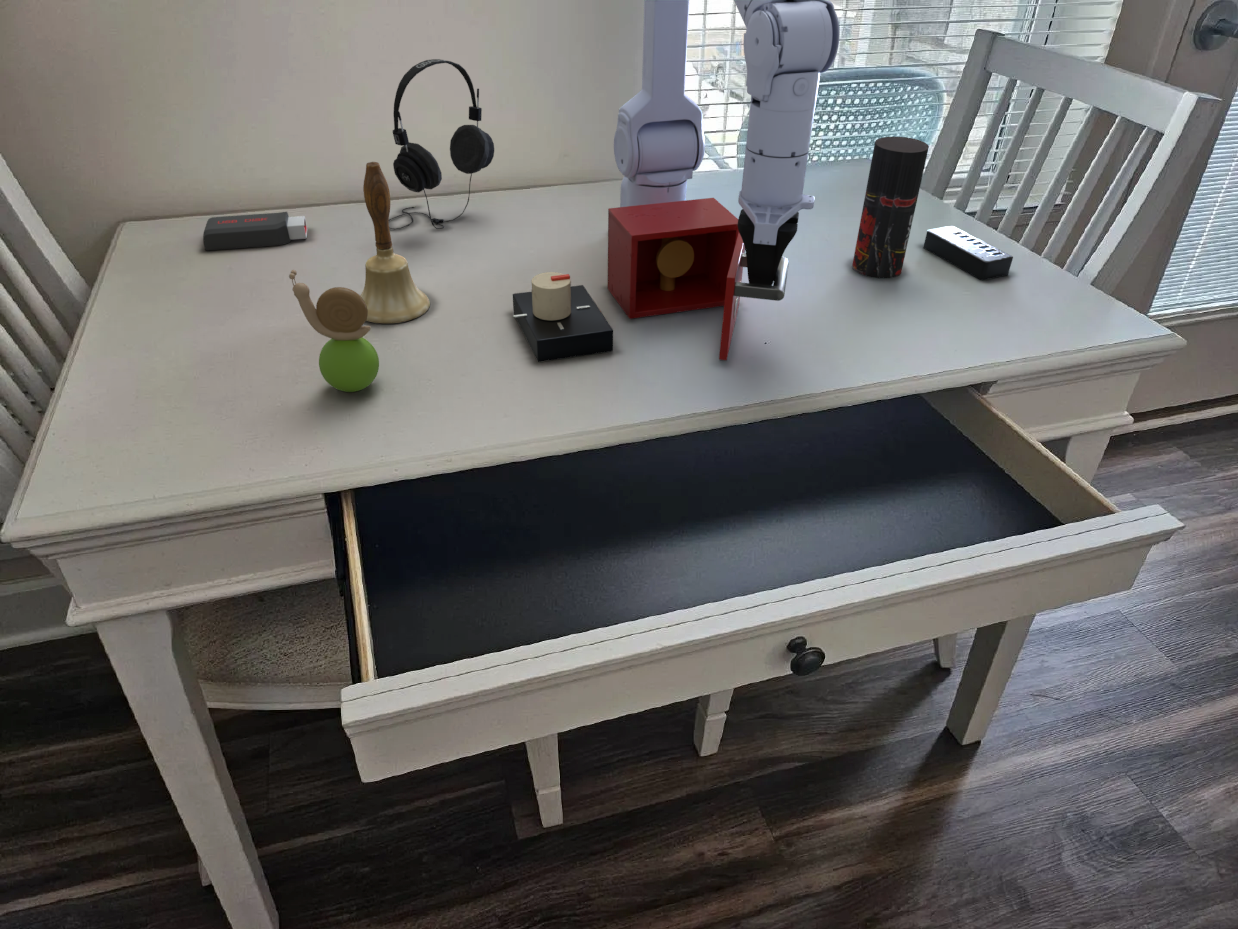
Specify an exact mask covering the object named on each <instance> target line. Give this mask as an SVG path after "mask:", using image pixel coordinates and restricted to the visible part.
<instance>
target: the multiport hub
mask: <svg viewBox="0 0 1238 929" xmlns="http://www.w3.org/2000/svg"><path fill="white" fill-rule="evenodd" d="M923 248H924V249H925V250H927V251H929V252H930V253H932V254H934V255H935V256H937V257H938V258H939V257H940V258H941V259H943V260H944V261H946V262H948V263H949V264H952V265H954V267H956V268H959V269H961V271H962V270H963V271H964V272H966V273H968V274H970V275H971V276H972V277H974V278H977V279H978V280H980V281H987V280H990V279H996V278H1000V277H1005V276H1008V275H1009V273H1010V269H1011V267H1012V262H1013V259H1014V256H1013V255H1011V254H1009V253H1007V252H1005V251H1003V250H1001V249H1000V248H998V247H995V246H994V245H993V244H990V243H988V242H986V241H984V240H982V239H980V238H978V237H976V236H974V235H972V234H970V233H968V232H967V231H965V230H963V229H960V228H958V226H957V227H956V226H954V225H947V226H941V227H937V228H931V229H927V230H926V234H925V238H924V242H923Z"/></svg>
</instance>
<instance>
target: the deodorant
mask: <svg viewBox="0 0 1238 929" xmlns="http://www.w3.org/2000/svg"><path fill="white" fill-rule="evenodd" d="M929 148H930V146H929V144H928V143H926V142H925V141H922V140H919V139H917V138H913V137H908V136H907V137H906V136H897V135H896V136H892V135H891V136H883V137H879V138H877V139H875V141H874V144H873V151H872V157H871V161H870V166H869V172H868V178H867V183H866V189H865V193H864V200H863V205H862V210H861V216H860V222H859V226H858V232H857V237H856V244H855V249H854V254H853V260H852V269H853V270H854V272H856V273H858V274H859V275H862V276H864V277H867V278H868V277H869V278H873V279H884V280H885V279H892V278H897V277H898V276H900V275H901V274H902V271H903V267H904V262H905V257H906V253H907V247H908V243H909V239H910V234H911V230H912V225H913V221H914V216H915V212H916V207H917V203H918V198H919V193H920V190H921V184H922V180H923V176H924V170H925V166H926V162H927V157H928V153H929Z"/></svg>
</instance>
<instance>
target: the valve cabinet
mask: <svg viewBox="0 0 1238 929" xmlns="http://www.w3.org/2000/svg"><path fill="white" fill-rule="evenodd" d="M607 209H608V210H607V217H608V218H607V222H608V223H607V290H608V292H609V293H610V294H611V296H612V297H613V298H614V300H615V301H616V302H617V303H618V306H620V308H621V310H623V312H624V313H625V315H626V316H627V318H628V319H630V320H633V319H639V318H647V317H655V316H661V315H667V314H669V315H670V314H675V313H682V312H683V313H684V312H690V311H696V310H697V311H698V310H705V309H712V308H719V307H724V302H725V291H726V281H727V275H728V271H729V267H730V264H731V260H732V256H733V252H734V248H735V245H736V241H737V237H738V233H739V230H738V226H737V225H738V219H739V217H737V216H735V215H734V214H733V213H732V212H731V211H730V210H729V209H728V208H726V207H725V206H724V205H723V204H721V203H720V202H719V201H718V200H717V199H716V198H715V197H707V198H696V199H686V201H676V202H666V203H657V204H647V205H637V206H628V207H620V206H619V207H611V208H607Z"/></svg>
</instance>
